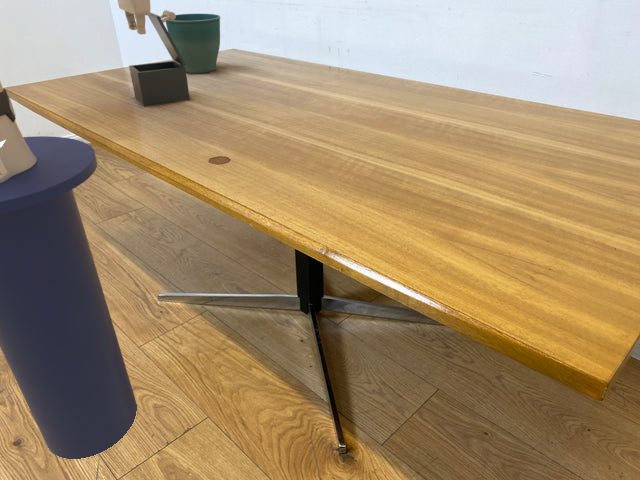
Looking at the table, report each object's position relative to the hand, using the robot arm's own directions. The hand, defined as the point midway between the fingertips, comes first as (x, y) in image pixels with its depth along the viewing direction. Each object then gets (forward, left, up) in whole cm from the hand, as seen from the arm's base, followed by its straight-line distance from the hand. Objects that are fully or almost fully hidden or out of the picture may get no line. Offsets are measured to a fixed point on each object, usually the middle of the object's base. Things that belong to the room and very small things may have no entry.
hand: (137, 31), depth 125 cm
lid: (+7, +1, -3) cm, 8 cm away
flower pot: (+25, +32, -18) cm, 44 cm away
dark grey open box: (+4, +1, -18) cm, 18 cm away
